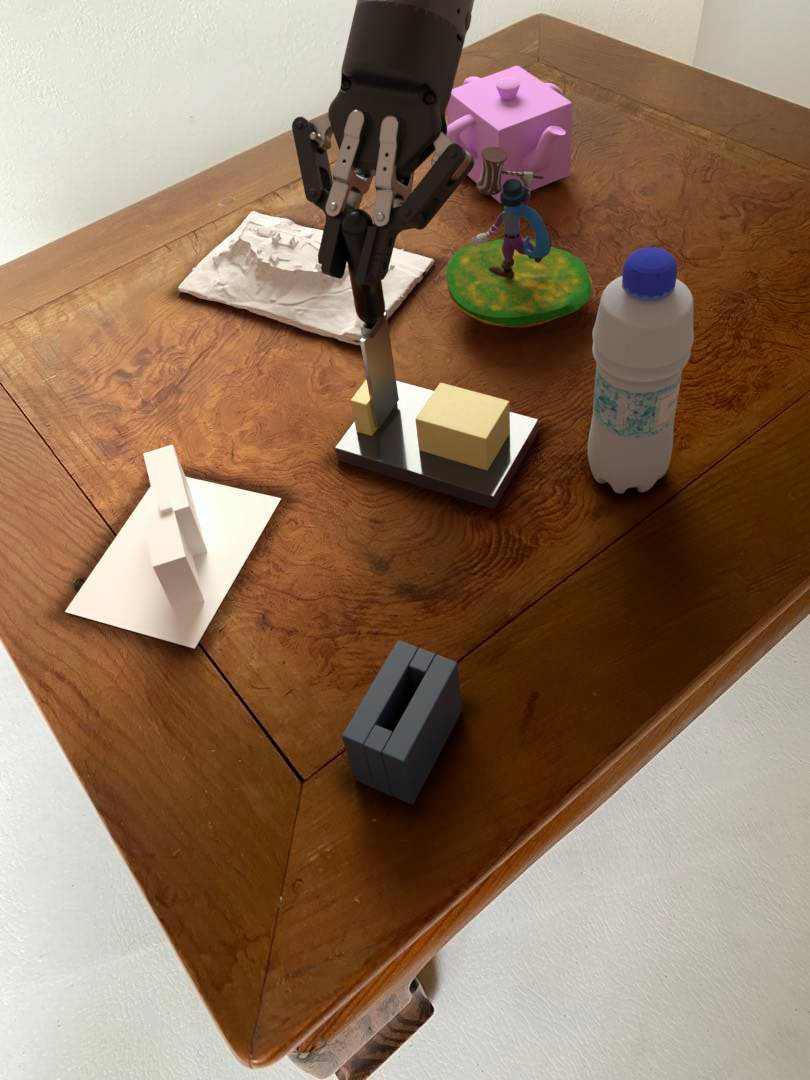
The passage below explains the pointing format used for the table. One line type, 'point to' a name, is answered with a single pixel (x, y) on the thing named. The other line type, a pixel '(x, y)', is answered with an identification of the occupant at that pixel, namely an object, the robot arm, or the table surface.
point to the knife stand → (404, 721)
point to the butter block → (463, 425)
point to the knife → (370, 321)
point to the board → (403, 460)
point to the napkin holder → (174, 554)
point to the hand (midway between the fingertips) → (349, 279)
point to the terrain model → (293, 278)
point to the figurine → (515, 261)
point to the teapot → (513, 124)
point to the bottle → (639, 370)
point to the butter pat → (363, 411)
